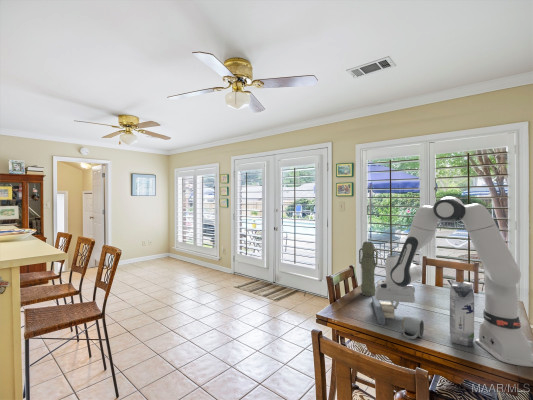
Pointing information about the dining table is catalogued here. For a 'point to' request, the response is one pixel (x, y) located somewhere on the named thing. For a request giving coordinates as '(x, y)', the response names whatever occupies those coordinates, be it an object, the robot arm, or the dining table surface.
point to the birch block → (387, 309)
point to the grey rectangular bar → (378, 311)
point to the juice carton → (462, 313)
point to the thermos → (368, 268)
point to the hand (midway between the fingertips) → (394, 308)
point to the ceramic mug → (412, 327)
